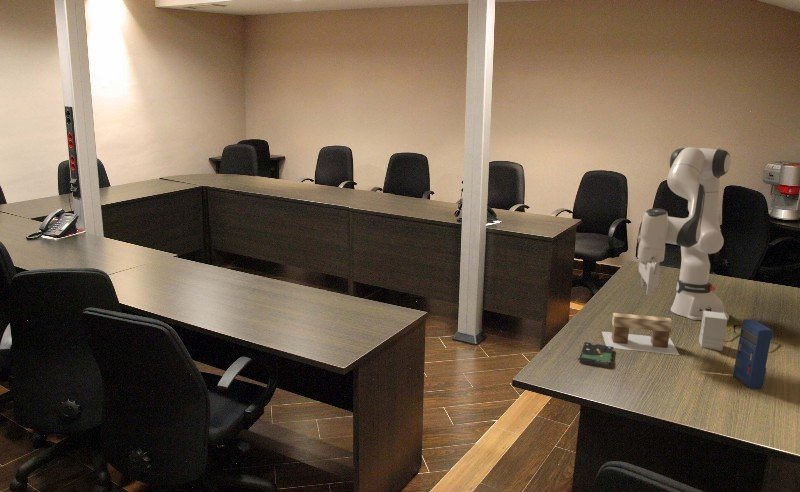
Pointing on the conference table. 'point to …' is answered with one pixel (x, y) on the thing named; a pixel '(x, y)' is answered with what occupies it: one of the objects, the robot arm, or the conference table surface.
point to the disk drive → (596, 355)
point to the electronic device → (752, 353)
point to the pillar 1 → (620, 335)
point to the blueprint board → (639, 344)
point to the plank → (642, 322)
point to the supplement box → (713, 330)
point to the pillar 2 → (660, 339)
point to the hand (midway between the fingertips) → (646, 291)
